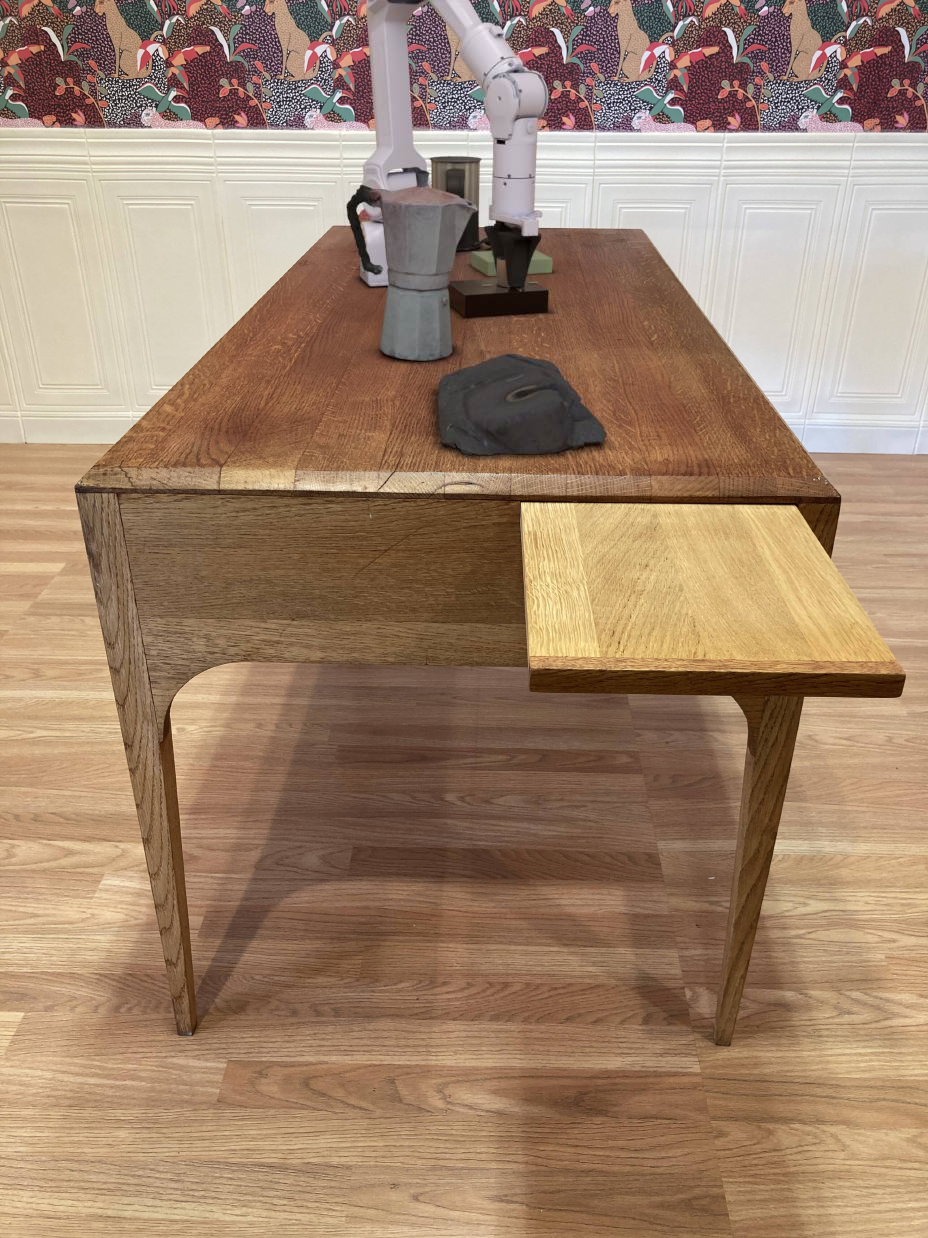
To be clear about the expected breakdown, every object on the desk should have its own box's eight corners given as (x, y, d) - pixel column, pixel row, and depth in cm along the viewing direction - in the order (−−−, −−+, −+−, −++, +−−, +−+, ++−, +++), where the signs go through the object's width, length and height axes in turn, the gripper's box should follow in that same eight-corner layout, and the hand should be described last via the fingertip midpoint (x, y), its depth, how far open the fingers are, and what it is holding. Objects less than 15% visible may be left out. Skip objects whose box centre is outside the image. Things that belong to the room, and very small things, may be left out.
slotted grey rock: (571, 381, 106) (574, 337, 104) (610, 454, 87) (615, 403, 85) (432, 383, 105) (432, 339, 103) (442, 457, 86) (442, 405, 84)
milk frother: (424, 243, 178) (423, 155, 170) (504, 239, 182) (506, 153, 175) (445, 257, 166) (445, 163, 159) (531, 253, 171) (534, 161, 163)
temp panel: (465, 317, 130) (465, 293, 129) (446, 302, 138) (446, 279, 136) (548, 312, 133) (549, 288, 132) (526, 297, 141) (526, 275, 139)
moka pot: (467, 367, 110) (470, 176, 100) (339, 358, 113) (328, 171, 103) (483, 345, 118) (486, 166, 108) (362, 337, 121) (354, 162, 111)
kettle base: (488, 276, 154) (488, 249, 152) (471, 265, 161) (471, 240, 159) (552, 272, 156) (553, 246, 154) (532, 262, 164) (533, 237, 162)
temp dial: (528, 286, 133) (530, 257, 131) (501, 287, 132) (502, 258, 130) (519, 280, 137) (520, 252, 135) (492, 281, 136) (493, 253, 134)
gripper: (562, 181, 122) (556, 291, 129) (523, 169, 134) (520, 270, 141) (510, 183, 121) (507, 294, 128) (475, 170, 133) (474, 273, 139)
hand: (510, 282), depth 134 cm, fingers closed on temp dial, 4 cm apart
